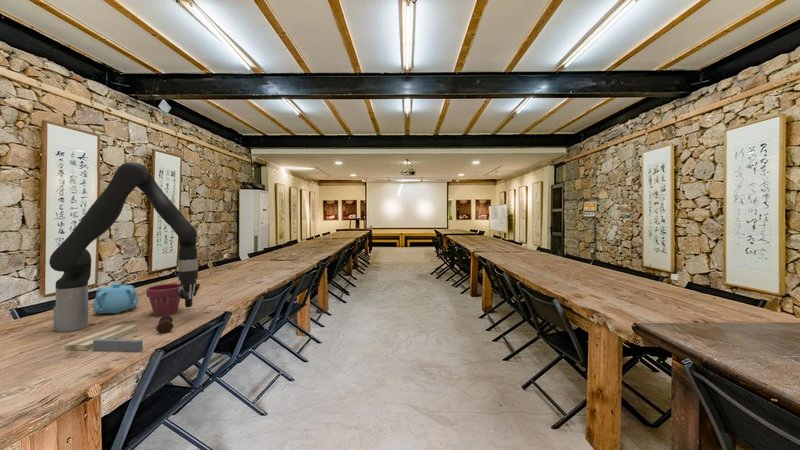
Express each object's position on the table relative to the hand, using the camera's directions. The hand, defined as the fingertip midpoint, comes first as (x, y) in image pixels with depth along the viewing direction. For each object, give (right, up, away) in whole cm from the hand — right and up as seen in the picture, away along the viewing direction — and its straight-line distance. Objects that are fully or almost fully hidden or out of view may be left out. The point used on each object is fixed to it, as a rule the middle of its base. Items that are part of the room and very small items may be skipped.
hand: (188, 306), depth 145 cm
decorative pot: (-41, -5, +9) cm, 43 cm away
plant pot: (-16, -5, +8) cm, 19 cm away
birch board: (-15, -6, -25) cm, 30 cm away
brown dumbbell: (-1, -6, -13) cm, 14 cm away
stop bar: (-1, -6, -35) cm, 35 cm away
